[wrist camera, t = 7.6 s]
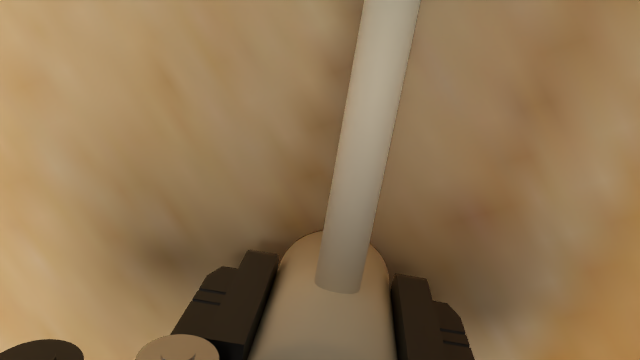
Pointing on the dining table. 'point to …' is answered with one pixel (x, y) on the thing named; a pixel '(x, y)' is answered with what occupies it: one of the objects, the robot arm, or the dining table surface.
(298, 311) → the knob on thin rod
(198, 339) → the robot arm
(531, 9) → the dining table surface
